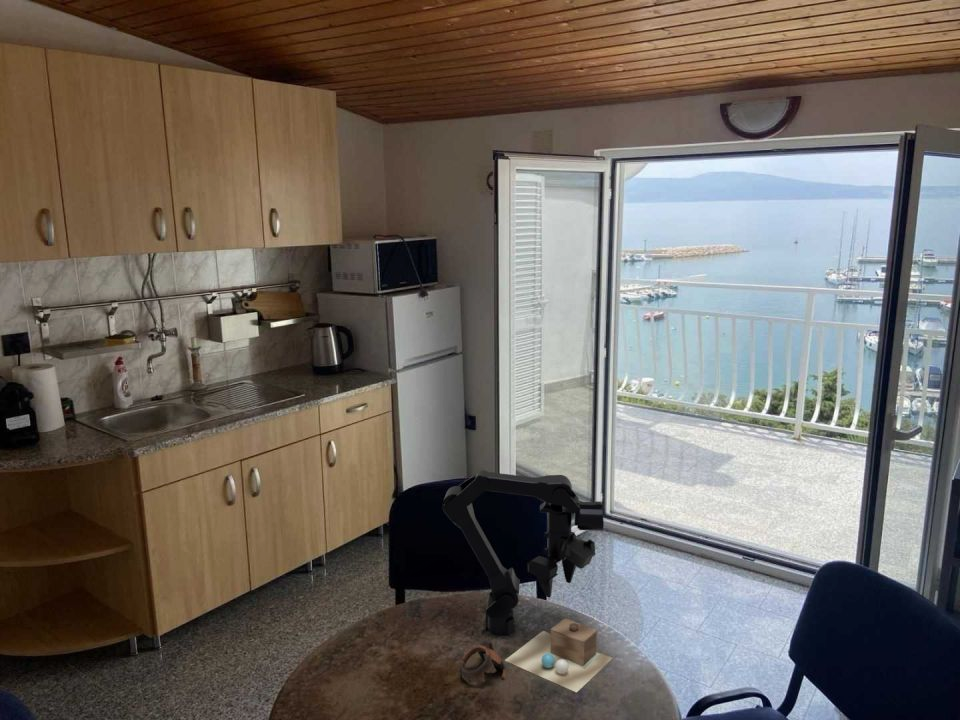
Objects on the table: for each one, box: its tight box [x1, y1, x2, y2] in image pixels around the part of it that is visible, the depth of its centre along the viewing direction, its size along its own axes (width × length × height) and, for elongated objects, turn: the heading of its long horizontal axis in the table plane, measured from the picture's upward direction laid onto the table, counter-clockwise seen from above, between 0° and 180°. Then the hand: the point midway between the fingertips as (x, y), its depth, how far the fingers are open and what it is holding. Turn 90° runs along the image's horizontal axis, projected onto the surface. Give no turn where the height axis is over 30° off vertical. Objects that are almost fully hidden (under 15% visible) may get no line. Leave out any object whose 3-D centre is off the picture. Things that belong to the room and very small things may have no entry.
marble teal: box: [541, 654, 555, 668], centre depth 158 cm, size 3×3×3 cm
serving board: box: [504, 630, 613, 693], centre depth 162 cm, size 19×16×1 cm
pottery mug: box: [460, 639, 507, 683], centre depth 157 cm, size 12×10×8 cm
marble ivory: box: [555, 659, 569, 674], centre depth 156 cm, size 3×3×3 cm
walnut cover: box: [550, 618, 598, 666], centre depth 163 cm, size 9×6×7 cm
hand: (558, 589), depth 171 cm, fingers open, 9 cm apart
